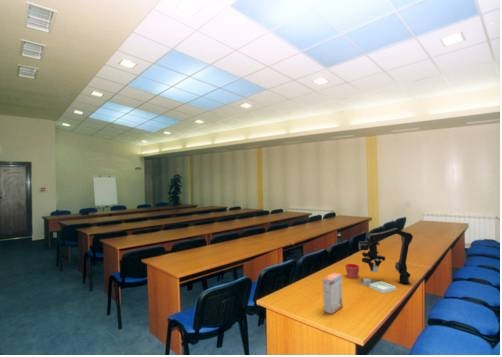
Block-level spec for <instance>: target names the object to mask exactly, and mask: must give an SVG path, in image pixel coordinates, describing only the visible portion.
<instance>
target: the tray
mask: <svg viewBox="0 0 502 357" xmlns="http://www.w3.org/2000/svg"><path fill="white" fill-rule="evenodd" d="M369 288H370V289H372V290H375V291H377V292H379V293H382V294H387V293H391V292H395V291H397V287H396V286H394V285H392V284H390V283H387V282H384V281H377V282H376V283H372V284H370V286H369Z"/></svg>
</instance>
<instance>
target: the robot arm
mask: <svg viewBox="0 0 502 357" xmlns="http://www.w3.org/2000/svg"><path fill="white" fill-rule="evenodd" d="M393 235H399V236H400V239H401V246H400V253H399V254H400V255H399V258H398V260H399V261H397V262H395V266H394V268H395V271H396V272H397V273H398V274H399V279H398V281H397V283H399V284H402V285H404V286H407V285H412V283H411V282H410V277H411V273H409V272H408V267H407V258H408V251H409V246H410V244H411V243H412V240H413V238H414V237H413V234H411V233H410V232H407V231H403V230H401V229H399V228H397V227H393V228H391V229H388V230H384V231H381V232H374V233H372V232H371V233H369V234H368V235H367V238H366V239H365V240H364V241H361V240H359V242H358V249H359V251H362V252H361V255H362V258H361V262H363V263H364V264H368V266H369V270H370V269H371V271H373V265H376V266H378V268H379V267H380V265H381V263H382V262H384V261H386V257H385V256H384V255H382V254H379V251H378V246H379V245H381V244H380V243H379V242H378V241H381V239H383V238H387V237H391V236H393ZM363 251H364V252H363ZM365 251H367V252H365ZM373 261H374V262H373ZM371 271H370V272H371Z"/></svg>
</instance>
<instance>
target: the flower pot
mask: <svg viewBox="0 0 502 357" xmlns="http://www.w3.org/2000/svg"><path fill="white" fill-rule="evenodd" d="M345 270H346V275H347V278H348V279H349V278H350V279H358V278H359V270H360V265H358V264H356V263H347V264H345Z"/></svg>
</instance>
